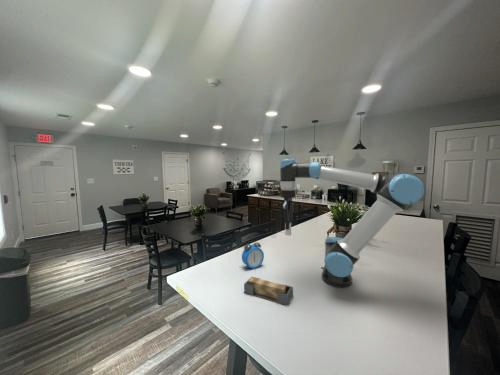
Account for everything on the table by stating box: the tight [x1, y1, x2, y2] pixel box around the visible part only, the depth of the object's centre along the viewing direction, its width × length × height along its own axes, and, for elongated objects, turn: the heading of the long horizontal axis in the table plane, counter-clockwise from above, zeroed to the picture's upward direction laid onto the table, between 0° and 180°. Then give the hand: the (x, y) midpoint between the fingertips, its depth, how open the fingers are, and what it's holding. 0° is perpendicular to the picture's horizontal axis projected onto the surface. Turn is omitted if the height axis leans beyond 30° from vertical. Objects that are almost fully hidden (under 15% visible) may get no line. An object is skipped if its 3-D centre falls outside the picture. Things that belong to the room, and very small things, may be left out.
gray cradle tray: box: [243, 276, 294, 307], centre depth 96 cm, size 22×8×5 cm, turn 62°
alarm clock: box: [241, 242, 265, 270], centre depth 126 cm, size 13×6×15 cm, turn 119°
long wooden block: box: [247, 276, 287, 299], centre depth 97 cm, size 18×4×5 cm, turn 62°
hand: (288, 235), depth 104 cm, fingers closed
